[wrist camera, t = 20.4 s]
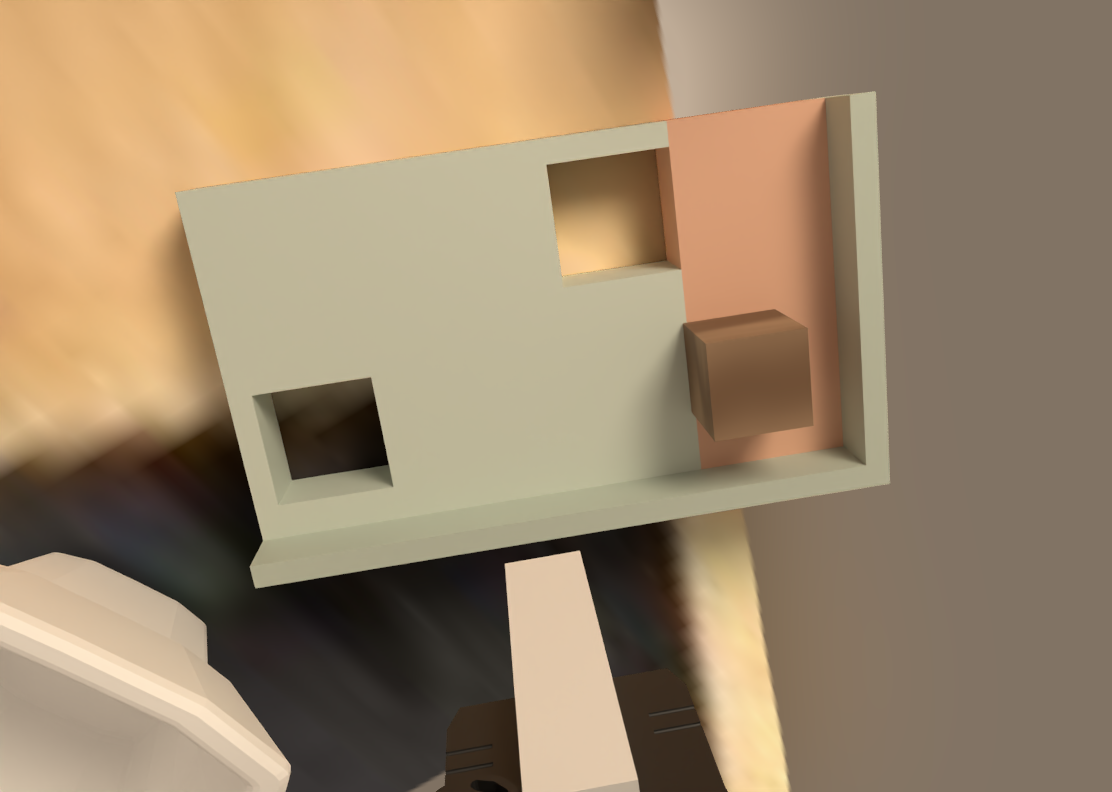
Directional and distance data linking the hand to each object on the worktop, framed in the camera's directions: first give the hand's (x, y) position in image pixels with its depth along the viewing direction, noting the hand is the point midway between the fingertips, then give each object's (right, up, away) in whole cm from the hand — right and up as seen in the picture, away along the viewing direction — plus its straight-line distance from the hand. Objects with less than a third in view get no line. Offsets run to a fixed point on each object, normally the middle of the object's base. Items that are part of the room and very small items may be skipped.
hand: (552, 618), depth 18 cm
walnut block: (+8, +6, +21) cm, 23 cm away
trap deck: (-1, +8, +23) cm, 24 cm away
